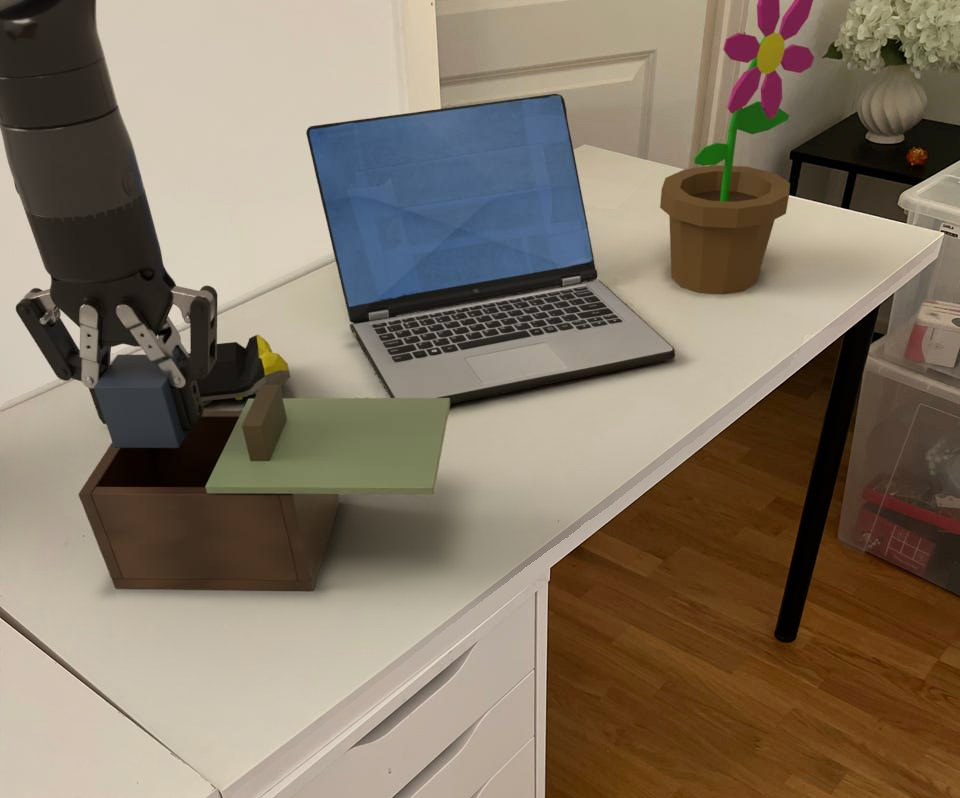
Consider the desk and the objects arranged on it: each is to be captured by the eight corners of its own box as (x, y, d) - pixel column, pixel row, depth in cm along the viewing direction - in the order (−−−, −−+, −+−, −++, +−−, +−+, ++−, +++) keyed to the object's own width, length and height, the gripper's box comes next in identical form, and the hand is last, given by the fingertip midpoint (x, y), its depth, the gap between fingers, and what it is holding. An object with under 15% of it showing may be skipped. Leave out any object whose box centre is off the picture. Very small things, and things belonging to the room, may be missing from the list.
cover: (206, 493, 69) (194, 450, 67) (249, 404, 78) (240, 363, 76) (433, 494, 68) (429, 450, 66) (450, 404, 77) (447, 362, 75)
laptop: (399, 421, 94) (377, 226, 81) (328, 295, 116) (302, 126, 103) (678, 362, 100) (697, 172, 87) (559, 253, 122) (562, 89, 110)
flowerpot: (707, 312, 108) (746, -5, 88) (629, 270, 117) (648, -26, 97) (802, 281, 113) (860, -26, 93) (720, 243, 122) (757, -44, 102)
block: (113, 448, 72) (93, 386, 68) (136, 413, 75) (117, 354, 72) (179, 448, 71) (161, 387, 68) (198, 414, 75) (182, 354, 72)
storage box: (114, 588, 77) (77, 494, 70) (161, 501, 85) (132, 410, 79) (312, 591, 75) (292, 495, 69) (339, 502, 84) (324, 409, 78)
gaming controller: (294, 412, 96) (295, 365, 103) (284, 361, 92) (285, 316, 99) (141, 429, 95) (152, 380, 102) (124, 377, 91) (137, 331, 98)
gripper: (208, 169, 64) (259, 401, 75) (0, 173, 65) (82, 401, 76) (174, 209, 58) (235, 453, 70) (-53, 214, 59) (44, 452, 71)
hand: (154, 425), depth 73 cm, fingers closed on block, 5 cm apart
